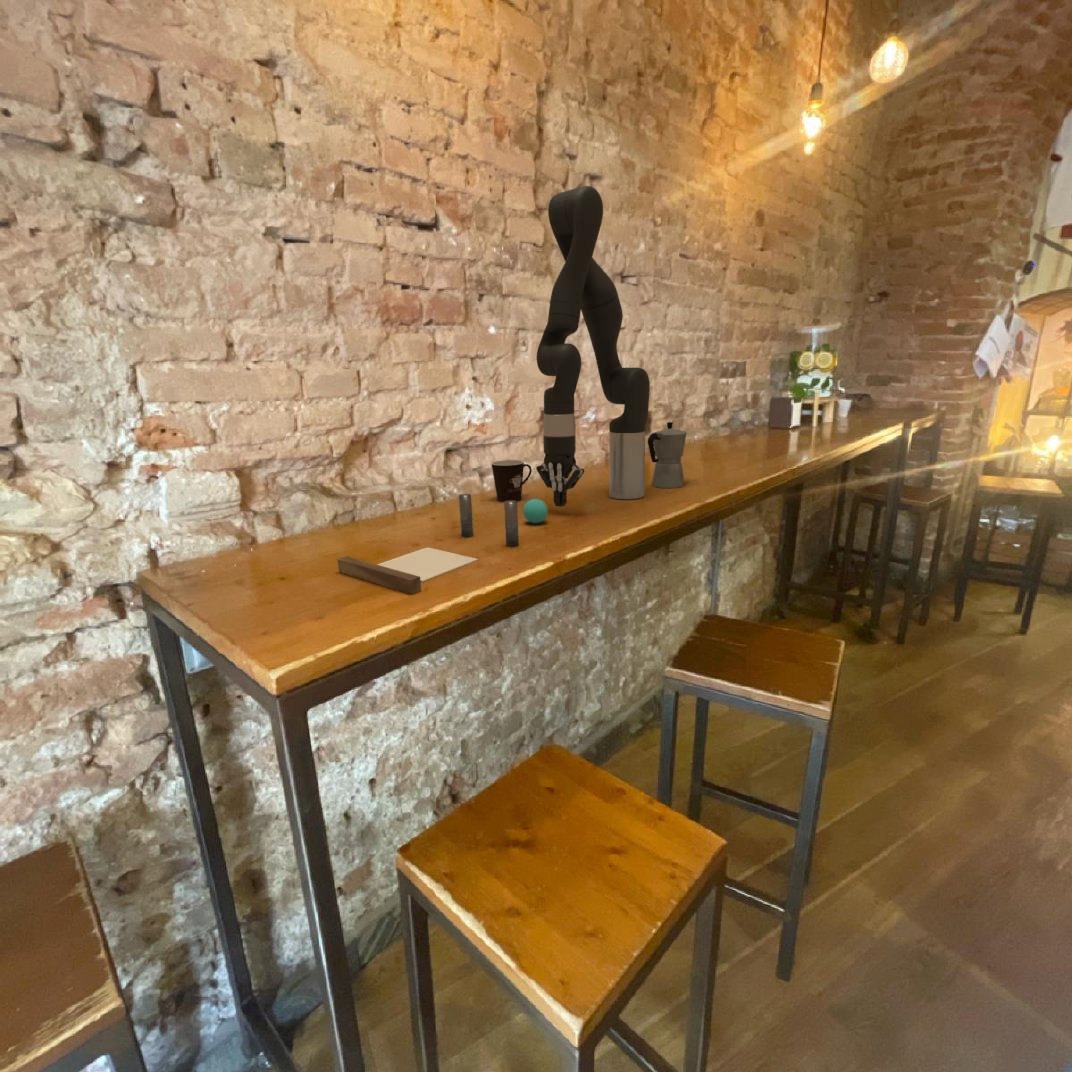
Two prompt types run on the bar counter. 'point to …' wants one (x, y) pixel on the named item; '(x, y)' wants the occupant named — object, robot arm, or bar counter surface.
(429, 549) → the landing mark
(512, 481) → the coffee mug
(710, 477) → the bar counter surface
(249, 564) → the bar counter surface
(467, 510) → the post
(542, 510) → the ball
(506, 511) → the post
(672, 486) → the coffeepot
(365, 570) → the wall
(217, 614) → the bar counter surface
